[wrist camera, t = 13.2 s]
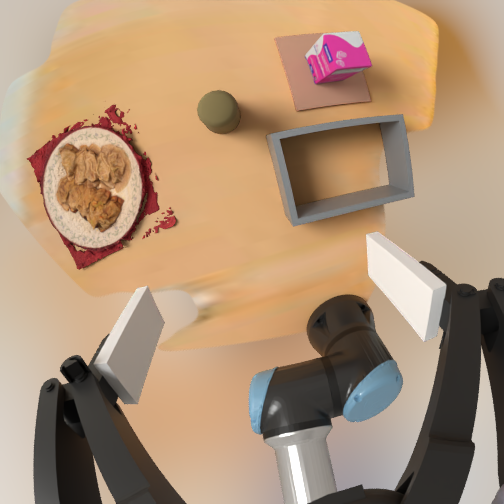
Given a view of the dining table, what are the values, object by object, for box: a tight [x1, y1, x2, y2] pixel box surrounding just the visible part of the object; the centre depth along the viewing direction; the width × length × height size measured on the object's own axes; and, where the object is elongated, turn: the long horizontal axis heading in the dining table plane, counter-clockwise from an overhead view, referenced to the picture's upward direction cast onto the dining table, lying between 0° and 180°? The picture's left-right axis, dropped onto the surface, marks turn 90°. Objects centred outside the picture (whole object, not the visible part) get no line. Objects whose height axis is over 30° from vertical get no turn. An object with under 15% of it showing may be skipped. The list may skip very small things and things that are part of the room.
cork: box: [197, 90, 241, 134], centre depth 35 cm, size 6×6×11 cm
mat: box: [275, 33, 371, 111], centre depth 36 cm, size 14×14×1 cm
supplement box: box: [305, 31, 372, 84], centre depth 31 cm, size 6×6×12 cm
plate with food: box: [27, 105, 176, 270], centre depth 41 cm, size 25×26×4 cm
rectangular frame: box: [266, 114, 414, 226], centre depth 40 cm, size 14×22×7 cm, turn 105°
